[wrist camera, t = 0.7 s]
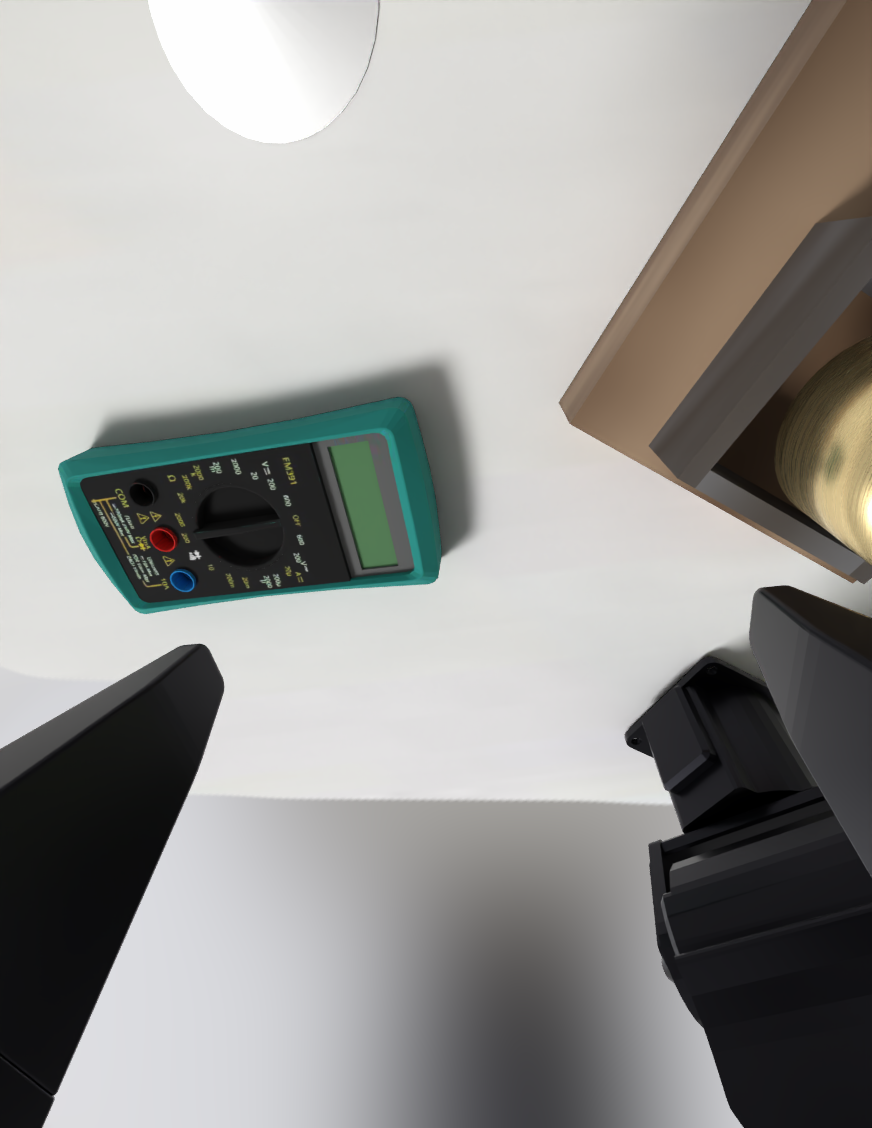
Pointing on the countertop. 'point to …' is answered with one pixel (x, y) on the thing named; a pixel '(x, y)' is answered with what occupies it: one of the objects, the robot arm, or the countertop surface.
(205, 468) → the digital multimeter
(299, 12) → the champagne flute
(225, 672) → the countertop surface
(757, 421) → the knob console
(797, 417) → the brass knob
